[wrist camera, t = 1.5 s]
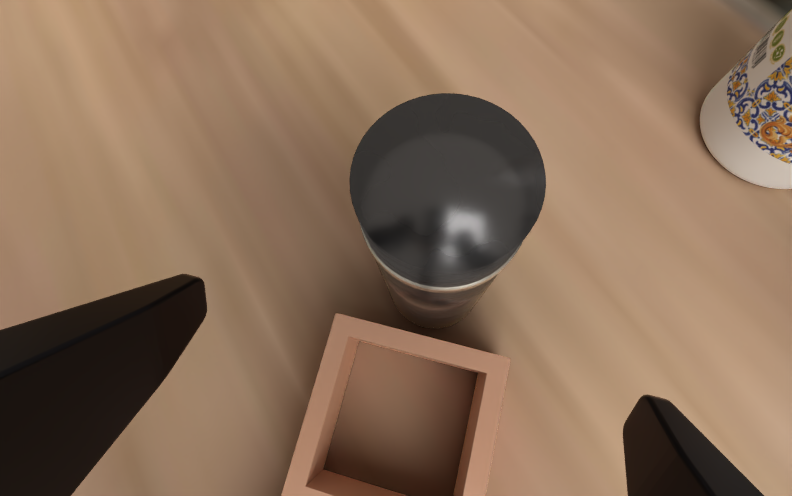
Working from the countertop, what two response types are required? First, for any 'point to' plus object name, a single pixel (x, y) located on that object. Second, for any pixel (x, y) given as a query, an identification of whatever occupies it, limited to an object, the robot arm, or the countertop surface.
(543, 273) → the countertop surface
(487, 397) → the collar
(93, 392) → the robot arm
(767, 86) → the bath foam
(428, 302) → the tube
